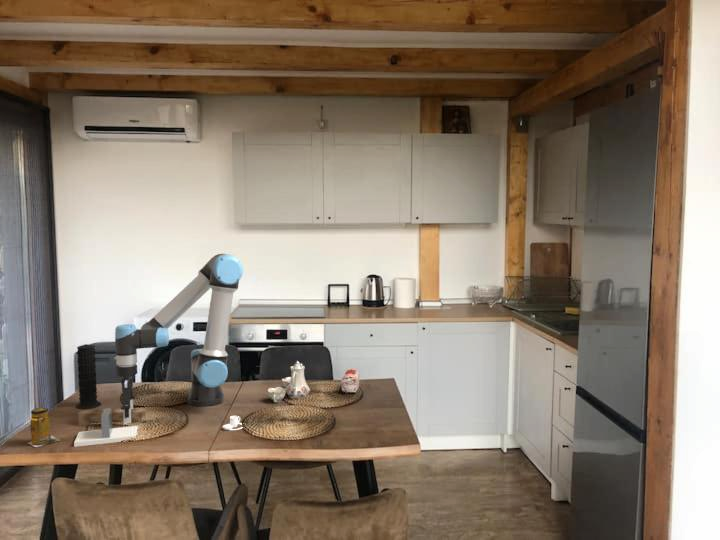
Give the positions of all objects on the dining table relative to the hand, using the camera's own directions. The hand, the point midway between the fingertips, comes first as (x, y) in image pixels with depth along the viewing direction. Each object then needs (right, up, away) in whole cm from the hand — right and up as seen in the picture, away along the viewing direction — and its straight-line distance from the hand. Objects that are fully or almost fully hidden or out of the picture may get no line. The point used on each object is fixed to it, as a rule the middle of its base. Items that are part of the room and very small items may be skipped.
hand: (128, 420), depth 227 cm
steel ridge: (-1, 0, -18) cm, 18 cm away
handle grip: (-25, +1, +20) cm, 32 cm away
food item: (+86, +3, +41) cm, 95 cm away
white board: (-1, -2, -18) cm, 18 cm away
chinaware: (+60, +2, +32) cm, 68 cm away
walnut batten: (-6, -1, -2) cm, 6 cm away
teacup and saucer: (+40, -1, -6) cm, 40 cm away
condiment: (-21, -2, -21) cm, 30 cm away
